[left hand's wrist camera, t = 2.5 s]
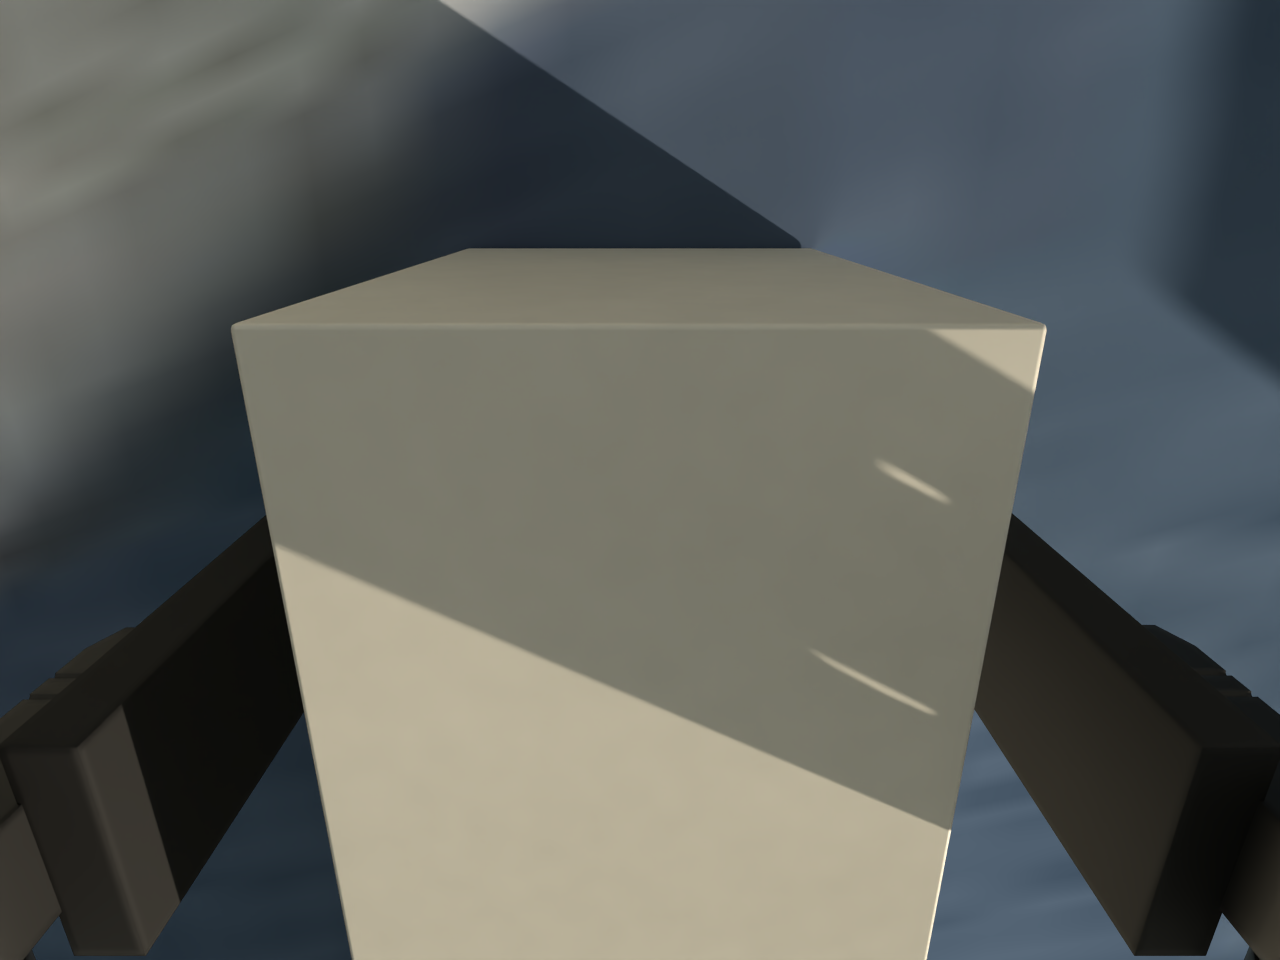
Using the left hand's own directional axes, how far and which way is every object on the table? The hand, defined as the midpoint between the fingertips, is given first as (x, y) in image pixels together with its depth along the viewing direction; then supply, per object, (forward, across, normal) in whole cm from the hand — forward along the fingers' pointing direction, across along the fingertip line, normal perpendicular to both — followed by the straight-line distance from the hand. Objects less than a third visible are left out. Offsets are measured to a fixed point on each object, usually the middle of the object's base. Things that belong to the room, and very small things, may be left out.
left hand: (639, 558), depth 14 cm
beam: (+1, 0, -27) cm, 27 cm away
